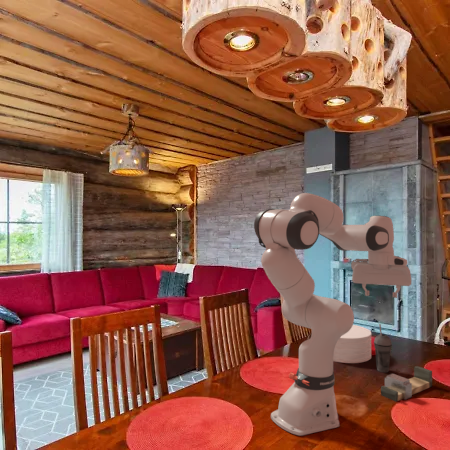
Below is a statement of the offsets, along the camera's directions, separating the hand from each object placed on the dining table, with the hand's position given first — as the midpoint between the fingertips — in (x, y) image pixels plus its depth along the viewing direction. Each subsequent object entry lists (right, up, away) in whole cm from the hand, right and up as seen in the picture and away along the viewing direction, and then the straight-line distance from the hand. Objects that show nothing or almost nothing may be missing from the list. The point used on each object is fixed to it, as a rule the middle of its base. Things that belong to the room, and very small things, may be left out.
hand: (380, 296), depth 135 cm
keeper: (+6, -36, 0) cm, 37 cm away
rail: (+11, -36, +3) cm, 38 cm away
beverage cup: (+11, -37, +23) cm, 45 cm away
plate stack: (0, -37, +46) cm, 59 cm away
